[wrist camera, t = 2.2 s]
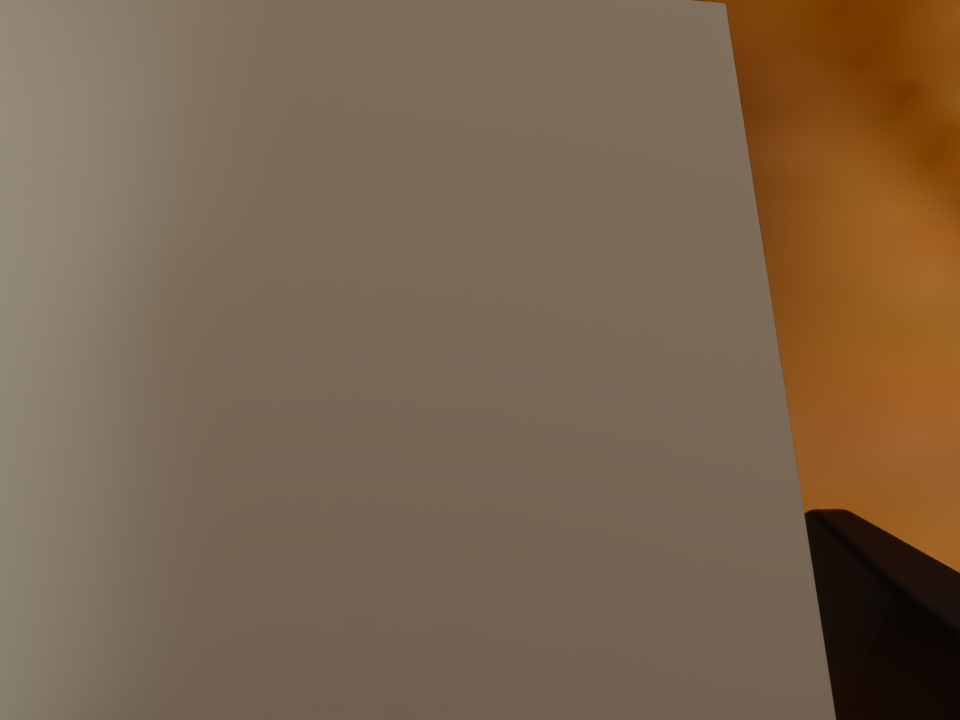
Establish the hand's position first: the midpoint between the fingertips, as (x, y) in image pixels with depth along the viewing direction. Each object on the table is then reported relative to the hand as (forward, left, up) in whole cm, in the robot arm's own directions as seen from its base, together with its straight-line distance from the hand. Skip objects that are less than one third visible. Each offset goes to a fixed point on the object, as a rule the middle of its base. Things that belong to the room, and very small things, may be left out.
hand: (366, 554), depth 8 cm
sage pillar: (+1, 0, -9) cm, 9 cm away
